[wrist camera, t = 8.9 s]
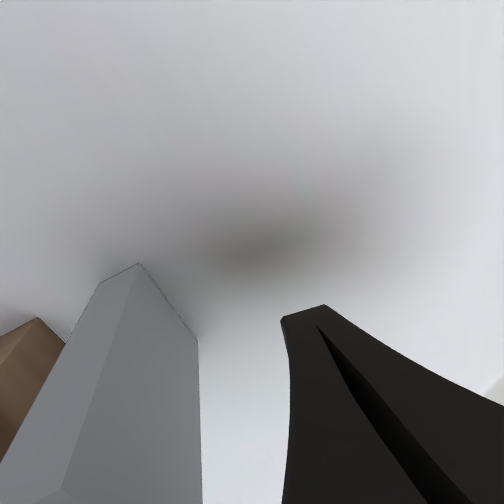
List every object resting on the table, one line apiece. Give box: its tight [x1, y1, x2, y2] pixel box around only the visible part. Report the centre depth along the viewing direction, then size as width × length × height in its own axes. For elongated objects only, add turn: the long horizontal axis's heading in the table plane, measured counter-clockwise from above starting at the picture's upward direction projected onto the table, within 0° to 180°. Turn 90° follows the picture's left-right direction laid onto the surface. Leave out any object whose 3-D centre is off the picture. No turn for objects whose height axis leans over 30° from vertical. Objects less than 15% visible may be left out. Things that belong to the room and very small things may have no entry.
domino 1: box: [0, 317, 66, 463], centre depth 11 cm, size 2×5×9 cm, turn 26°
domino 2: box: [0, 263, 203, 504], centre depth 10 cm, size 2×5×9 cm, turn 26°
